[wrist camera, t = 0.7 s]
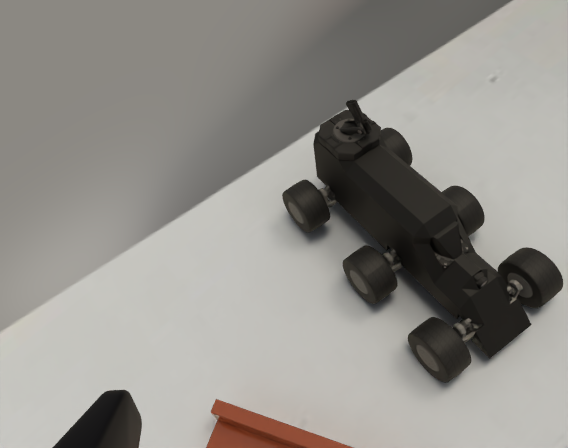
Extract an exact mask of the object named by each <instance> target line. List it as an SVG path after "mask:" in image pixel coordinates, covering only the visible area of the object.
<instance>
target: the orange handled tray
mask: <svg viewBox="0 0 568 448" xmlns="http://www.w3.org/2000/svg"><path fill="white" fill-rule="evenodd" d="M211 413H212V415H213V416H214V417H215V418H216V419H217V423H216V425H215V428H214V430H213V432H212V435H211V437H210V440H209V442H208V444H207V447H206V448H353V447H350V446H347V445H344V444H341V443H339V442H336V441H333V440H330V439H327V438H324V437H322V436H319V435H316V434H313V433H310V432H308V431H305V430H302V429H299V428H296V427H294V426H291V425H288V424H285V423H282V422H279V421H277V420H274V419H271V418H268V417H265V416H263V415H260V414H257V413H254V412H251V411H248V410H246V409H243V408H240V407H237V406H234V405H232V404H229V403H226V402H223V401H220V400H217V399H216V401H215V403H214V405H213V408H212V410H211Z"/></svg>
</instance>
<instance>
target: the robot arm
mask: <svg viewBox="0 0 568 448" xmlns="http://www.w3.org/2000/svg"><path fill="white" fill-rule="evenodd" d="M141 428H142V421H141V416H140V413H139V411H138V409H137V407H136V405H135V403H134V401H133V399H132V397H131V395H130V393H129V392H128V391H126V390H111V391H107V392H105V393H103V394H102V395H101V396H100V397H99V398H98V399H97V400H96V401H95V403H94V404H93V405H92V406H91V407H90V408H89V409H88V410H87V411H86V412H85V413H84V414H83V416H82V417H81V418H80V419H79V420H78V421H77V422H76V423H75V424H74V425H73V426H72V427H71V428H70V430H69V431H68V432H67V433H66V434H65V435H64V436H63V437H62V438H61V439H60V440H59V441H58V443H57V444H56V445H55V446H54V447H53V448H138V447H139V441H140V435H141Z"/></svg>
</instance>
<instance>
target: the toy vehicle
mask: <svg viewBox="0 0 568 448" xmlns="http://www.w3.org/2000/svg"><path fill="white" fill-rule="evenodd" d="M346 105H347V107H348V109H349V110H344V111H343V112H341V113H340V114H338V115H336V116H334V117H333V118H331V119H329V120H328V121H326V122H325V123H323V124H321V125H320V130H319V132H317V133H316V134H315V139H314V152H315V161H316V170H317V177H318V178H319V179H320V180H321V181H322V182H323V183H324V184H325V185H326V187H325V190H324V189H323V188H321V189H319V190H318V189H317V188H316V187H315V186H314V185H313V184H312V183H311V182H309V181H307V180H302V181H300V182H298V183H297V184H295V185H293V186H292V187H290V188H289V189H287V190H286V191H284V192H283V195H282V196H283V201H284V204H285V206H286V208H287V210H288V212H289V214H290V216H291V217H292V218H293V220H294V221H295V223H296V224H297V225H298V226H299V227H300V228H301V229H302V230H304V231H305V232H311V231H313V230H315V229H316V228H318V227H319V226H321V225H322V224H324V223H325V222H326V221H328V220H329V218H330V212H329V208H328V207H332V206H333V205H335V204H336V203H337V202H338V203H339V204H340V205H341V206H342V207H343V208H344V209H345V210H346V211H347V212H348V213H349V214H350V215H351V216H352V217H353V218H354V219H355V220H356V221H357V222H358V223H359V224H360V225H361V226H362V227H363V228H364V229H365V230H366V231H367V232H368V233H369V234H370V235H371V236H372V237H374V238H375V239H376V240H377V241H378V242H379V243H380V244H381V245H382V246H383V247H384V248H385V249H386V250H389V249H390V248H391V249H392V250H391V251H390V254H389V253H387V252H385V253H384V254H383V256H382V255H381V254H380V253H379V252H378V251H377V250H375V249H374V248H372V247H371V246H364V247H362V248H360V249H359V250H357V251H356V252H354V253H353V254H351V255H350V256H349V257H347V258H346V259H345V260H344V261H343V268H344V271H345V274H346V276H347V278H348V280H349V281H350V283H351V284H352V286H353V287H354V288H355V290H356V291H357V292H358V293H359V294H360V295H361V296H362V297H363V298H364V299H365V300H366V301H368V302H369V303H372V304H375V303H377V302H379V301H380V300H382V299H383V298H385V297H386V296H387V295H389V294H390V293H391V292H392V291H394V290H395V289H396V287H397V279H396V276H395V274H394V272H395V271H397V270H398V269H400V268H401V267H402V266H403V267H404V268H405V269H406V270H407V271H408V272H409V273H410V274H411V275H412V276H413V277H414V278H415V279H416V280H417V281H418V282H419V283H420V284H421V285H422V286H423V287H424V288H425V289H426V290H427V291H428V292H429V293H430V294H431V295H432V296H433V297H434V298H435V299H436V300H437V301H438V302H439V303H440V304H442V305H443V306H444V307H445V308H446V309H447V310H448V311H449V312H450V313H451V314H452V315H453V316H454V317H455V318H456V319H457V318H458V317H461V318H462V319H463V320H461V321H460V322H458V323H456V324H455V325H454V326H453V328H452V327H451V326H449V325H448V324H447V323H446V322H444V321H443V320H441V319H439V318H436V317H431V318H429V319H427V320H426V321H425V322H423V323H422V324H420V325H419V326H418V327H417V328H416V329H414V330H413V331H412V332H411V333H410V334H409V335H408V342H409V345H410V347H411V349H412V351H413V353H414V354H415V356H416V357H417V359H418V360H419V362H420V363H421V364H422V365H423V366H424V368H425V369H426V370H427V371H428V372H429V373H430V374H432V375H433V376H434V377H435V378H437V379H438V380H440V381H442V382H449V381H450V380H452V379H453V378H455V377H456V376H457V375H459V374H460V373H461V372H462V371H463V370H464V369H466V368H467V367H468V366H469V365H470V363H471V355H470V352H469V350H468V348H467V346H466V344H465V343H464V342H467V341H468V340H470V339H471V338H472V337H473V336H474V337H473V339H472V342H473V343H474V344H475V345H476V346H478V347H479V348H480V349H481V350H482V351H483V352H484V353H485V354H486V355H487V356H488V357H489V358H491V357H492V356H494V355H495V354H496V353H497V352H498V351H500V350H501V349H502V348H503V347H505V346H506V345H507V344H508V343H509V342H511V341H512V340H513V339H514V338H515V337H517V336H518V335H519V334H520V333H522V332H523V331H524V330H525V329H526V328H528V327H529V326H530V325H531V323H530V321H529V319H528V317H527V315H526V313H525V311H524V309H523V307H522V305H521V304H523V305H525V306H528V307H531V308H538V307H541V306H542V305H544V304H545V303H546V302H548V301H549V300H550V299H552V298H553V297H554V296H555V295H556V294H557V293H558V292H559V291H560V290H561V289H562V287H563V279H562V276H561V273H560V271H559V270H558V268H557V267H556V265H555V264H554V263H553V262H552V261H551V260H550V259H549V258H548V257H547V256H546V255H544V254H543V253H541V252H539V251H537V250H535V249H532V248H521V249H519V250H518V251H516V252H515V253H513V254H512V255H510V256H509V257H508V258H507V259H506V260H504V261H503V262H502V263H501V264H500V265H499V267H498V272H497V271H496V270H495V269H494V268H492V267H491V266H490V265H489V264H488V263H487V262H486V261H484V260H483V259H482V258H481V257H480V256H479V255H477V254H476V252H475V250H474V248H473V246H472V244H471V242H470V240H469V238H468V236H470V235H471V234H472V233H474V232H475V231H476V230H477V229H479V228H480V227H481V226H482V225H483V223H484V212H483V209H482V207H481V205H480V203H479V202H478V200H477V199H476V198H475V197H474V196H473V195H472V194H471V193H470V192H469V191H468V190H466V189H464V188H462V187H460V186H451V187H449V188H447V189H446V190H444V191H443V192H440V191H439V190H438V189H437V188H436V187H434V186H433V185H432V184H431V183H430V182H428V181H427V180H426V179H425V178H424V177H422V176H421V175H420V174H419V173H418V172H416V171H415V170H414V169H413V168H412V167H410V165H411V163H412V153H411V150H410V147H409V145H408V143H407V142H406V140H405V139H404V137H403V136H402V135H401V134H400V133H399V132H398V131H396V130H394V129H392V128H385V129H383V130H381V127H380V126H378V125H377V124H376V123H375V122H374V121H372V120H371V119H369V118H368V117H367V115H366V114H364V113H362V111H361V109H360V107H359V105H358V103H357V101H356V100H350V101H347V103H346ZM328 198H329V199H330V200H331V201H330V200H328ZM393 262H394V263H395V264H396V266H395V265H394V264H393ZM465 334H466V335H467V336H465Z"/></svg>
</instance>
